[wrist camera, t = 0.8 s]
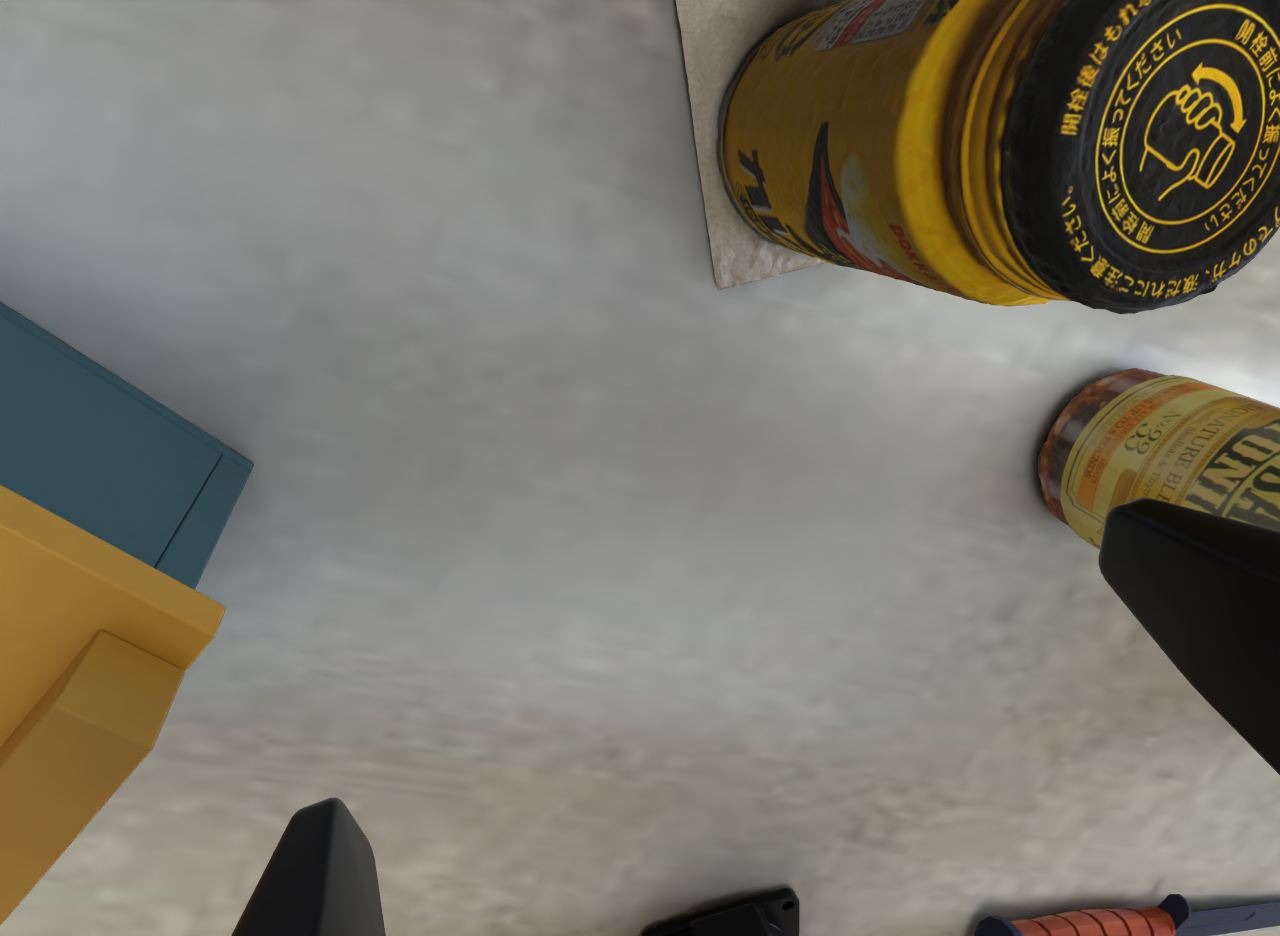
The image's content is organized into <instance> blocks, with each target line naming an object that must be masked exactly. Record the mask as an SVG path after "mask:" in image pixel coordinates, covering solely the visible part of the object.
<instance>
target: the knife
mask: <svg viewBox="0 0 1280 936" xmlns="http://www.w3.org/2000/svg"><path fill="white" fill-rule="evenodd" d="M1279 926H1280V902H1277V903H1266V904H1258V905H1249V906H1241V907H1232V908H1224V909H1215V910H1207V911H1198V912H1191V907H1190V905H1189V903H1188V901H1187V900H1186V899H1185V898H1184V897H1182V896H1181V895H1180V894H1170V895H1168V896H1167V897H1166V898H1165V900H1164V901H1163V902H1162V903H1161V904H1160V905H1159V906H1158V907H1146V908H1140V909H1091V910H1078V911H1071V912H1065V913H1059V914H1054V915H1048V916H1044V917H1039V918H1034V919H1029V920H1026V919H1023V920H1015V921H1010V920H1008V919H1005V918H1002V917H999V916H989V917H987V918H985V919H983V920H982V921H980V922H979V924H978V927H977V929H976V932H975V936H1219V935H1227V934H1234V933H1241V932H1248V931H1254V930H1260V929H1267V928H1273V927H1279Z"/></svg>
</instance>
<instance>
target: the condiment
mask: <svg viewBox="0 0 1280 936" xmlns="http://www.w3.org/2000/svg"><path fill="white" fill-rule="evenodd" d="M676 6H677V12H678V19H679V23H680V28H681V34H682V45H683V50H684V58H685V67H686V72H687V78H688V84H689V96H690V102H691V109H692V118H693V127H694V135H695V143H696V150H697V158H698V163H699V170H700V176H701V183H702V192H703V198H704V204H705V213H706V220H707V227H708V232H709V237H710V246H711V254H712V261H713V266H714V272H715V278H716V282H717V286H718V290H722V289H725V288H729V287H733V286H737V285H741V284H745V283H749V282H753V281H758V280H760V279H764V278H768V277H773V276H776V275H779V274H783V273H787V272H791V271H795V270H799V269H803V268H808V267H811V266H815V265H819V264H823V263H827V262H829V263H831V264H836V265H840V266H845V267H851V268H855V269H860V270H865V271H869V272H874V273H876V274H880V275H884V276H888V277H892V278H894V279H898V280H903V281H906V282H910V283H913V284H915V285H920V286H924V287H926V288H930V289H934V290H936V291H942V292H946V293H949V294H952V295H954V296H959V297H962V298H964V299H967V300H973V301H977V302H980V303H986V304H987V303H988V304H991V305H1002V306H1020V305H1031V304H1045V303H1047V302H1049V301H1051V300H1067V301H1075V302H1079V303H1081V304H1083V305H1086V306H1089V307H1091V308H1093V309H1106V310H1109V311H1111V312H1115V313H1118V314H1127V313H1133V314H1135V313H1137V312H1141V311H1145V310H1153V309H1157V308H1160V307H1165V306H1171V305H1176V304H1179V303H1183V302H1187V301H1189V300H1191V299H1192V298H1195V297H1197V296H1199V295H1201V294H1206V293H1209V292H1212V291H1214V290H1215V289H1216V287H1217V285H1218V284H1219V283H1220V282H1221V281H1223V280H1225V279H1227V278H1228V277H1230V276H1232V275H1233V274H1235V273H1237V272H1238V271H1239V270H1240V269H1242V268H1243V267H1244V266H1245V265H1246V264H1248V263H1249V262H1250V261H1251V260H1252V259H1253V258H1255V256H1256V255H1257V254H1258V253H1259V252H1260V251H1261V250H1262V248H1263V247H1264V246H1265V245H1266V244H1267V243H1268V241H1269V240H1270V239H1271V237H1272V236H1273V235H1274V234H1275V233H1276V231H1277V230H1278V229H1279V227H1280V0H676Z"/></svg>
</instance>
